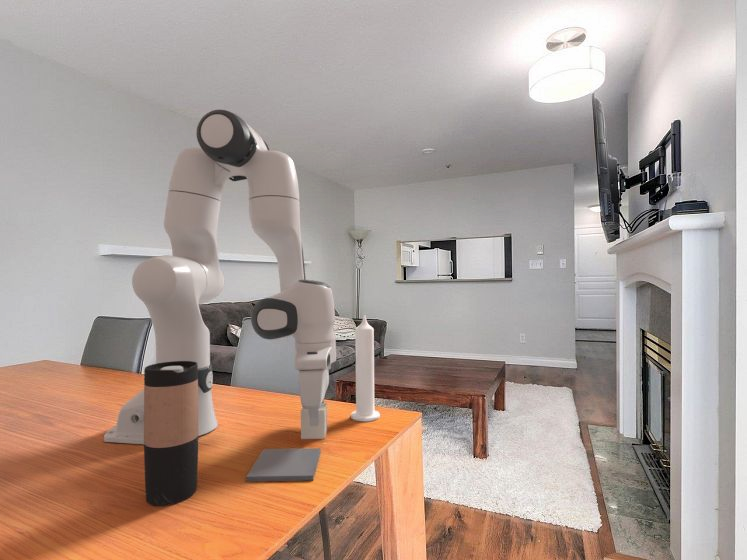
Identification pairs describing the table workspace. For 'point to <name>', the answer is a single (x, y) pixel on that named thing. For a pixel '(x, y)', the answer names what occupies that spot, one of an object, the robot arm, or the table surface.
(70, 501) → the table surface
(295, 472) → the slate plate
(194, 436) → the travel mug
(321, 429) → the cream block
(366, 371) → the candle
